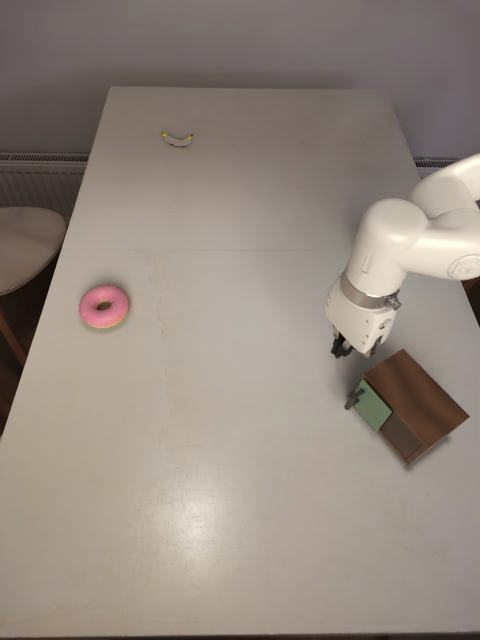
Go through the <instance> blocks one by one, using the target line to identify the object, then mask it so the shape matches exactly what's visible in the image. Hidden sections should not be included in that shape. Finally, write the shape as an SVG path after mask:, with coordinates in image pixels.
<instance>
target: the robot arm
mask: <svg viewBox="0 0 480 640" xmlns="http://www.w3.org/2000/svg"><path fill="white" fill-rule="evenodd" d="M479 200H480V152H478V153H474V154H472V155H470V156H467V157H465V158H462V159H460V160H458V161H455V162H452V163H451V164H448V165H446V166H444V167H442V168H440V169H438V170H436V171H434V172H433V173H430V174H428V175H427V176H425V177H424V178H422V179H421V180H419V181H418V182H417V183H416V184H415V185H414V186H413V187H412V189H411V190H410V191H409V193H408V195H407V197H406V199H404V198H399V197H386V198H381V199H378V200H376V201H374V202H373V203H372V204H370V206H368V207H367V208H366V210H365V212H364V214H363V216H362V218H361V221H360V224H359V227H358V230H357V233H356V235H355V239H354V241H353V244H352V248H351V250H350V253H349V257H348V259H347V262H346V265H345V268H344V270H343V271H342V272H341V273H340V275H338V277H337V278H336V279H335V281H334V282H333V284H332V285H331V288H330V290H329V291H328V294H327V296H326V299H325V301H324V304H323V314H324V316H325V317H326V318H327V319H328V320H329V322H330V323H331V325H332V327H333V331H332V336H333V338H334V340H333V342H332V347H331V349H330V353H331V355H333V356H334V358H335V359H336V360H339V358H341V357H344V358H346V357H348V356H350V354H352V352H353V350H354V351H357V352H359V353H361V354H362V355H363V356H364V357H366V358H367V359H370V358H372V357H373V356H375V355H376V351H377V346H378V344H379V345H382V344H384V343H385V342H386V341H387V339H388V337H389V335H390V333H391V331H392V328H393V326H394V323H395V320H396V316H397V312H398V309H400V307H402V305H403V304H402V302H401V301H400V300H399V297H398V296H399V293H400V291H401V289H400V288H401V286H402V285H403V282H404V281H405V278H406V277H407V275H408V274H409V273H412V274H418V275H422V276H426V277H432V278H436V279H441V280H448V281H467V280H473V279H475V278H479V277H480V208H479V206H478V203H477V201H479Z"/></svg>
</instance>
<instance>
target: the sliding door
mask: <svg viewBox="0 0 480 640" xmlns="http://www.w3.org/2000/svg"><path fill="white" fill-rule="evenodd" d="M343 408H344V410H345V411H350V410H351V409H352V408H355V410H356V411H357V413H358V414H359V415H360V416H361V417H362V418H363V420H364V421H365V422H366V423H367V424H368V426H369V427H370V428H371V429H372V430H373V431H374V432H375V433H377V432H379V431H378V430H379V428H380V427H381V426H382V424H383V423H384V422H385V421H386V419H387V418H388V417H389V415H390V414H391V413H392V411H391V410H390V409H389V408H388V407H387V405H386V404H385V403H384V402H383V401H382V400H381V399H380V398H379V396H378V395H377V394H376V393H375V392H374V391H373V390H372V389H371V387H370V386H369V385H368V384H367V383H366V382H365V381H364V380H362V381H361V382H360V384H359V386H358V388H357V390H356V391H355V393H354V394H353V393H350V395H349V396H348V398H347V400H346V402H345V404H344V406H343Z"/></svg>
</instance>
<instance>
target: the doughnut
mask: <svg viewBox="0 0 480 640" xmlns="http://www.w3.org/2000/svg"><path fill="white" fill-rule="evenodd" d="M103 303H110V306H109V307H107V309H105V308H104V309H103V310H99V309H98V306H100V305H102V304H103ZM77 305H78V313H79V316H80V318H81V320H82V321H83V322H84V323H85V324H87V325H88V326H90V327H93V328H97V329H107V328H110V327H114V326H115V325H117V324H119V323H120V322H121V321H122V320H123V319H125V317H126V316H127V314H128V312H129V305H130V301H129V297H128V296H127V294H126V292H124V291H123V289H121V288H119V286H115V285H109V284H108V285H104V284H102V285H98V286H95V287H93V288H91V289H89V290H88V291H86V293H84V294H83V296H81V299H80V301H79V304H77Z"/></svg>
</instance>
